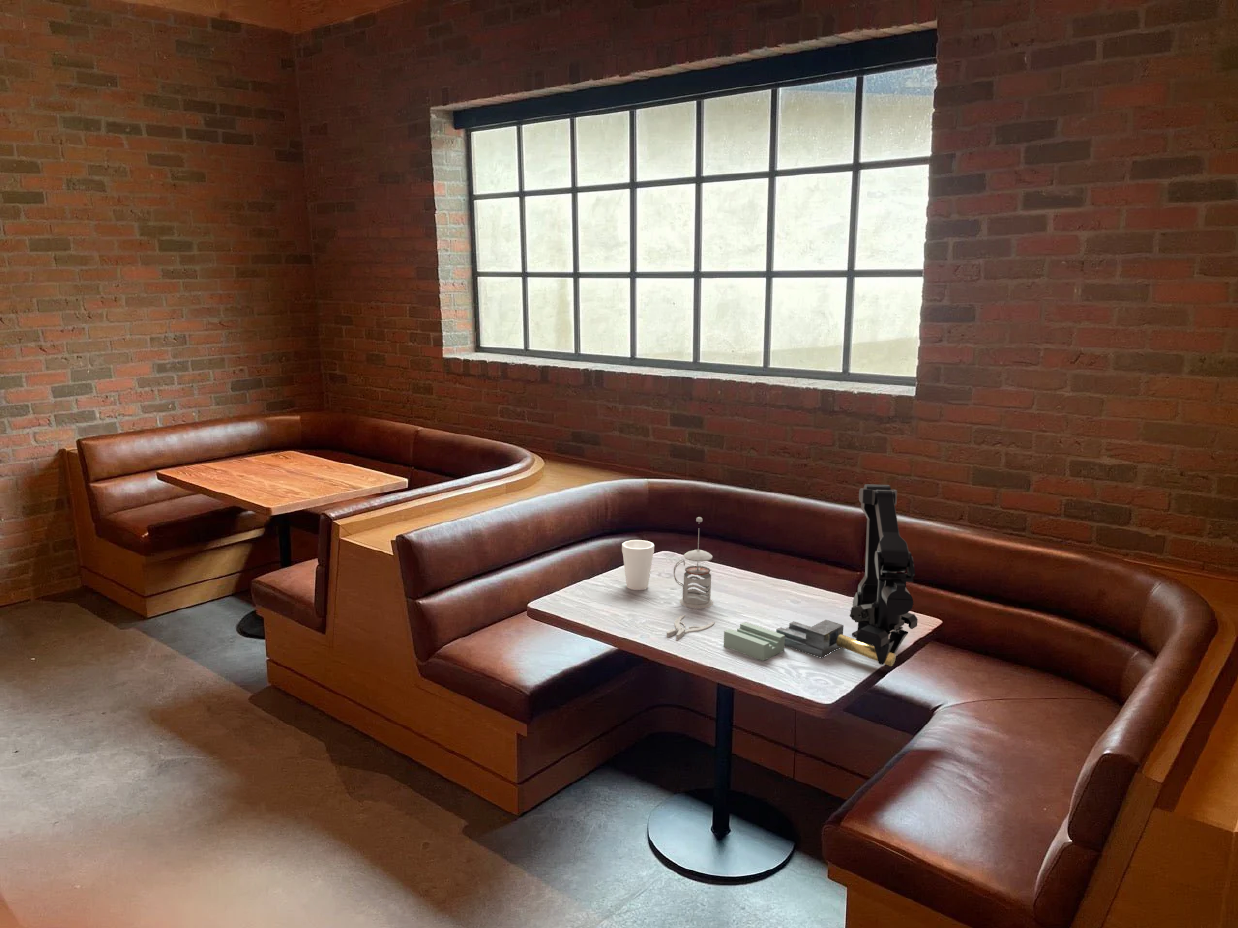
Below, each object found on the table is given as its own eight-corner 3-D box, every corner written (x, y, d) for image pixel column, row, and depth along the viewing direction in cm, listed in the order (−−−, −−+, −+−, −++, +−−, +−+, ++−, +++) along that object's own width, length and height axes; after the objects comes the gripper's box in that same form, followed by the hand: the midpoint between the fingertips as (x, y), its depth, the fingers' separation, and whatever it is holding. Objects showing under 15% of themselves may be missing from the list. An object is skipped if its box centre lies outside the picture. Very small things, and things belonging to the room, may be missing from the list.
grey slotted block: (795, 630, 228) (796, 609, 227) (843, 646, 218) (844, 624, 217) (773, 641, 221) (774, 619, 220) (821, 658, 211) (823, 635, 210)
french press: (715, 608, 243) (718, 522, 238) (673, 608, 243) (676, 521, 238) (712, 596, 252) (715, 512, 247) (672, 595, 252) (674, 512, 247)
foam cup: (658, 585, 261) (659, 543, 259) (643, 593, 254) (643, 551, 251) (631, 579, 266) (632, 538, 264) (615, 587, 258) (616, 545, 256)
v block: (744, 636, 224) (745, 621, 223) (784, 650, 216) (785, 635, 215) (723, 646, 218) (724, 631, 217) (763, 660, 209) (764, 645, 209)
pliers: (715, 619, 232) (689, 637, 219) (715, 624, 232) (689, 643, 220) (682, 611, 237) (655, 629, 224) (682, 617, 237) (655, 635, 225)
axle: (842, 644, 214) (843, 632, 213) (894, 663, 205) (896, 652, 204) (835, 647, 212) (837, 635, 211) (888, 667, 203) (890, 655, 202)
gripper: (877, 581, 214) (873, 641, 217) (837, 599, 201) (833, 663, 204) (921, 592, 206) (915, 654, 209) (882, 612, 193) (877, 678, 196)
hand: (884, 661), depth 205 cm, fingers closed on axle, 3 cm apart
